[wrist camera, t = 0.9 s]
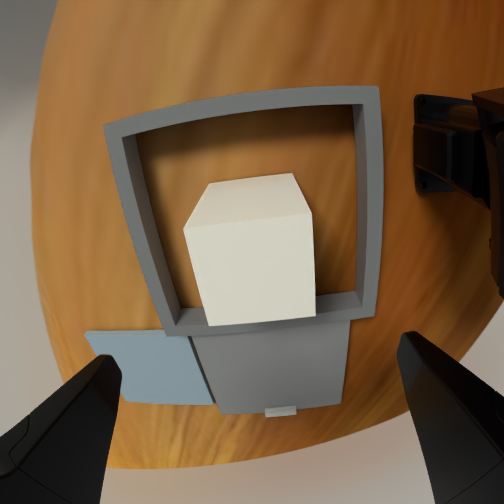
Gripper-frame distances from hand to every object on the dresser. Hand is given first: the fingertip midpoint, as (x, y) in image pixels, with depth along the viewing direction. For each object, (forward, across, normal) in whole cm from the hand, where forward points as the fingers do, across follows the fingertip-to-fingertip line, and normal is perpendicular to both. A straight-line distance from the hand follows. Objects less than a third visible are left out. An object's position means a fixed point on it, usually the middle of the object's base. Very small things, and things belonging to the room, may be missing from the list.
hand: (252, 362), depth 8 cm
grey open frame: (+12, 0, +6) cm, 13 cm away
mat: (+12, +12, +14) cm, 21 cm away
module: (+12, 0, 0) cm, 12 cm away
